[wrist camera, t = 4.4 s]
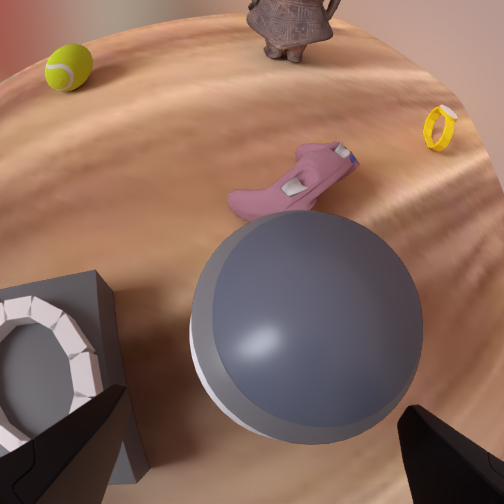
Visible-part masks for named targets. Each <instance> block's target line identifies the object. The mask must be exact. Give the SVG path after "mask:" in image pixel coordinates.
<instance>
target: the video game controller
mask: <svg viewBox="0 0 504 504" xmlns="http://www.w3.org/2000/svg"><path fill="white" fill-rule="evenodd" d="M295 156H296V159H297V161H298V162H297V164H296V165H295V167H294V168H293V169H292V170H290V171H289V172H288V173H286V174H285V175H283V176H282V177H281V178H280V179H279V180H277V181H276V182H275V183H274V184H273V185H272V186H270V187H268V188H266V189H261V190H245V189H238V190H235V191H232V192H231V193H230V194H229V196H228V203H229V206H230V208H231V210H232V211H233V212H234V213H235V214H236V215H237V216H238V217H240V218H241V219H243V220H245V221H247V222H251V221H253V220H255V219H257V218H260V217H263V216H266V215H269V214H272V213H277V212H282V211H291V210H310V209H311V208H312V207H313V206H314V205H315V204H316V203H317V201H318V200H317V198H316V197H318V196H319V195H320V194H321V193H323V192H324V191H325V190H326V189H328V188H329V187H330V186H331V185H333V184H334V183H336V182H338V181H340V180H342V179H343V178H345V177H346V176H348V175H349V174H350V173H351V172H353V171H354V170H355V169H357V168H358V167H359V165H360V164H359V162H358V161H357V159H356V158H355V157H354V155H353V154H352V152H351V151H350V150H348V149H347V148H346V147H345V146H343V142H342V143H339V142H333V143H328V144H314V143H310V144H303V145H301V146H299V147H298V148H297V149H296V151H295Z"/></svg>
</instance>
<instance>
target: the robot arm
mask: <svg viewBox="0 0 504 504" xmlns="http://www.w3.org/2000/svg"><path fill="white" fill-rule="evenodd" d="M130 408H131V403H130V396H129V389H128V387H127V386H126V385H122V384H118V383H114V384H112V385H111V386H109V387H108V388H106V389H105V390H103V391H102V392H101V393H99V394H98V395H96V396H95V397H93V398H92V399H90V400H89V401H88V402H86V403H85V404H83V405H82V406H80V407H79V408H77V409H76V410H74V411H73V412H71V413H70V414H68V415H67V416H66V417H64V418H63V419H61V420H60V421H58V422H57V423H55V424H54V425H52V426H51V427H49V428H48V429H46V430H45V431H43V432H42V433H40V434H39V435H37V436H36V437H34V440H33V439H31V440H29V441H28V442H26V443H25V444H23V445H21V446H20V447H18V448H16V449H15V450H13V451H11V452H9V453H7V454H5V455H3V456H1V457H0V504H101V503H102V500H103V497H104V494H105V491H106V488H107V485H108V483H109V480H110V477H111V474H112V472H113V469H114V466H115V464H116V461H117V458H118V456H119V453H120V449H121V445H122V441H123V437H124V433H125V429H126V425H127V421H128V417H129V413H130ZM397 429H398V435H399V440H400V446H401V452H402V458H403V463H404V467H405V471H406V475H407V479H408V483H409V487H410V491H411V495H412V499H413V504H504V462H503V461H502V460H500V459H498V458H497V457H495V456H494V455H492V454H491V453H489V452H487V451H486V450H485V449H483V448H482V447H480V446H479V445H477V444H476V443H474V442H473V441H471V440H470V439H468V438H467V437H465V436H464V435H462V434H461V433H459V432H458V431H456V430H455V429H453V428H452V427H451V426H449V425H448V424H446V423H445V422H443V421H442V420H440V419H439V418H438V417H436V416H435V415H433V414H432V413H430V412H429V411H427V410H426V409H425V408H423V407H422V406H420V405H410V406H408V407H407V408H406V410H405V411H404V413H403V414H402V416H401V417H400V419H399V420H398V423H397Z"/></svg>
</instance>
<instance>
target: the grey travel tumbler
mask: <svg viewBox="0 0 504 504" xmlns="http://www.w3.org/2000/svg"><path fill="white" fill-rule="evenodd" d="M422 342H423V318H422V309H421V304H420V300H419V296H418V293H417V290H416V287H415V284H414V282H413V280H412V278H411V276H410V273H409V272H408V270H407V268H406V267H405V265H404V263H403V262H402V261H401V259H400V258H399V257H398V255H397V254H396V253H395V252H394V251H393V249H392V248H391V247H390V246H389V245H388V244H387V243H386V242H385V241H383V240H382V239H381V238H380V237H379V236H378V235H376V234H375V233H373V232H372V231H370V230H369V229H367V228H366V227H364V226H362V225H360V224H358V223H356V222H354V221H352V220H349V219H347V218H344V217H341V216H337V215H334V214H328V213H324V212H318V211H312V210H291V211H282V212H277V213H272V214H269V215H266V216H263V217H260V218H257V219H255V220H253V221H251V222H249V223H247V224H245V225H244V226H242V227H241V228H239V229H238V230H236V231H235V232H233V233H232V234H231V235H230V236H229V237H228V238H227V239H225V240H224V241H223V242H222V243H221V245H220V246H219V247H218V248H217V249H216V250H215V252H214V253H213V254H212V256H211V257H210V259H209V260H208V262H207V263H206V265H205V267H204V269H203V271H202V273H201V276H200V278H199V280H198V283H197V287H196V290H195V293H194V298H193V305H192V312H191V320H190V347H191V354H192V359H193V362H194V365H195V369H196V372H197V374H198V376H199V378H200V380H201V383H202V385H203V387H204V388H205V390H206V391H207V393H208V394H209V396H210V397H211V399H212V400H213V401H214V402H215V404H216V405H217V406H218V407H219V408H220V409H221V410H222V411H223V412H224V413H225V414H226V415H227V416H229V417H230V418H231V419H232V420H233V421H235V422H236V423H238V424H239V425H241V426H242V427H244V428H246V429H247V430H249V431H252V432H254V433H256V434H259V435H261V436H264V437H267V438H271V439H275V440H279V441H286V442H290V443H296V444H307V445H316V444H329V443H334V442H338V441H343V440H346V439H349V438H351V437H354V436H357V435H359V434H361V433H363V432H365V431H366V430H368V429H370V428H372V427H373V426H375V425H376V424H377V423H379V422H380V421H381V420H383V419H384V418H385V417H386V416H387V415H388V414H389V413H390V412H391V411H392V410H393V409H394V408H395V407H396V406H397V405H398V403H399V402H400V401H401V399H402V398H403V397H404V395H405V394H406V392H407V390H408V388H409V386H410V385H411V383H412V381H413V378H414V376H415V373H416V371H417V368H418V364H419V360H420V356H421V350H422Z"/></svg>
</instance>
